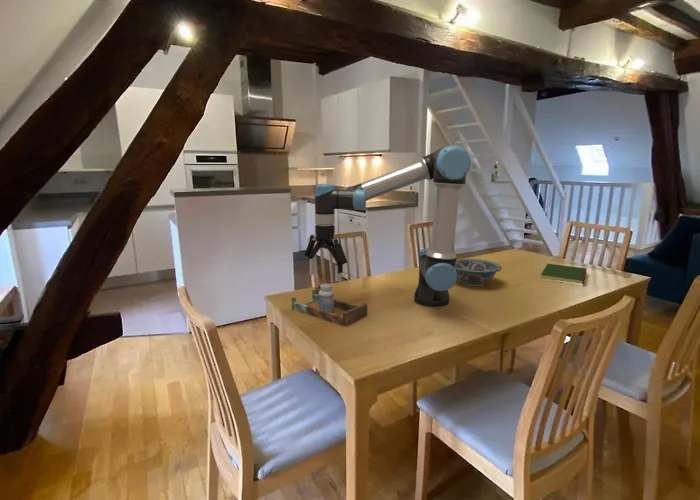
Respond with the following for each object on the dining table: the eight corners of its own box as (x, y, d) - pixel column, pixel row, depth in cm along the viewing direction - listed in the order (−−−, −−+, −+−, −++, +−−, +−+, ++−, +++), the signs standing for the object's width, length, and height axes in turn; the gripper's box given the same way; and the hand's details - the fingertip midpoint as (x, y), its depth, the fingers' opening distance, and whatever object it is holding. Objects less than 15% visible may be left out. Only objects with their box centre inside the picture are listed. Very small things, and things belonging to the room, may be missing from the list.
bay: (374, 311, 160) (374, 294, 158) (346, 326, 146) (345, 307, 144) (319, 296, 178) (319, 280, 176) (289, 308, 164) (289, 291, 162)
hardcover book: (583, 287, 191) (584, 280, 190) (540, 281, 201) (541, 274, 200) (585, 274, 211) (586, 268, 210) (547, 269, 221) (547, 263, 220)
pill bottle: (318, 309, 163) (318, 283, 161) (333, 308, 164) (333, 282, 161) (319, 314, 157) (318, 287, 155) (334, 314, 158) (334, 287, 155)
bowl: (443, 287, 189) (444, 268, 187) (451, 274, 212) (452, 256, 210) (499, 294, 180) (501, 274, 178) (501, 279, 203) (502, 261, 200)
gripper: (356, 226, 148) (355, 281, 153) (308, 219, 163) (309, 269, 168) (343, 229, 142) (343, 285, 147) (295, 222, 157) (296, 273, 162)
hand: (325, 277), depth 157 cm, fingers open, 13 cm apart
